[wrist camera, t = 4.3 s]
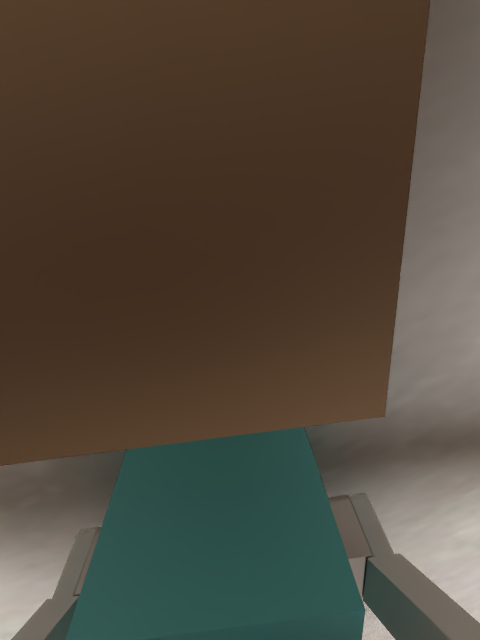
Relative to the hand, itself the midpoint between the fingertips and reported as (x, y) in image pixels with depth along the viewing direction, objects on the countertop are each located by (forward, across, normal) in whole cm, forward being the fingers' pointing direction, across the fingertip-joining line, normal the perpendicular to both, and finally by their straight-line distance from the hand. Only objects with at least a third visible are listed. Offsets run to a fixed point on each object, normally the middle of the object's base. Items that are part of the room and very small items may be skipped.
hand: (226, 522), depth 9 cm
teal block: (+2, 0, 0) cm, 2 cm away
